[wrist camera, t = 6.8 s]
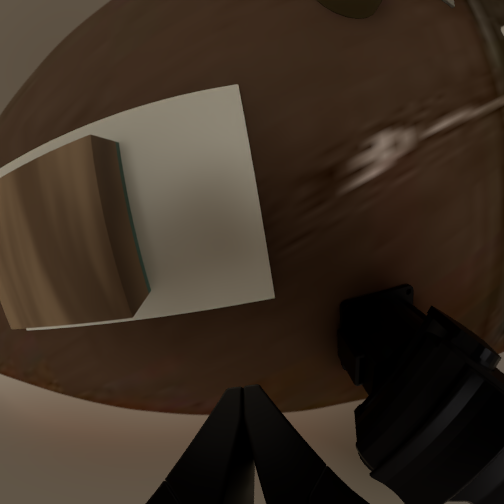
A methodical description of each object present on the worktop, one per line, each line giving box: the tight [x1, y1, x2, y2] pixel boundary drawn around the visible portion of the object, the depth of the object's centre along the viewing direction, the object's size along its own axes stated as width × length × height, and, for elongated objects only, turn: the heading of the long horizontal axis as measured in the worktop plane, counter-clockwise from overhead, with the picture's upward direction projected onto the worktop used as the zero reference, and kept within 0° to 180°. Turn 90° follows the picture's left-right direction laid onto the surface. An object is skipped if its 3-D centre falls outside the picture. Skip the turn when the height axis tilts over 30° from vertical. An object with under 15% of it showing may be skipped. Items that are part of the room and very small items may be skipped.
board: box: [0, 84, 275, 330], centre depth 17 cm, size 22×14×1 cm, turn 100°
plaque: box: [0, 134, 151, 329], centre depth 15 cm, size 4×10×11 cm
